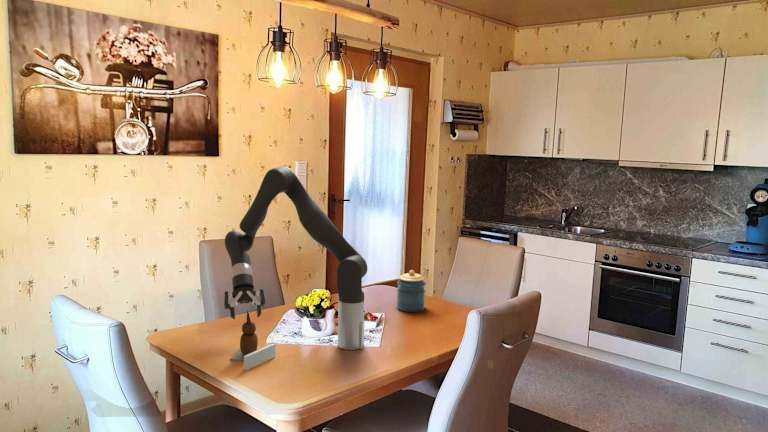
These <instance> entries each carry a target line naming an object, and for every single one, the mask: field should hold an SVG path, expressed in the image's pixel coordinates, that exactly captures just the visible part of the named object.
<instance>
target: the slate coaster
mask: <svg viewBox="0 0 768 432" xmlns="http://www.w3.org/2000/svg"><path fill="white" fill-rule="evenodd" d="M259 349H260V348H259ZM259 349H258V348H257V350H259ZM257 350H256V351H257ZM229 361H232V362H234V361H235V362H244V355H243V354H242V352H241V349H240V348H239V349H238V350H237V351H236V352H235V353H234V354H233V355H232V356H231V357H230V358H229Z"/></svg>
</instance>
